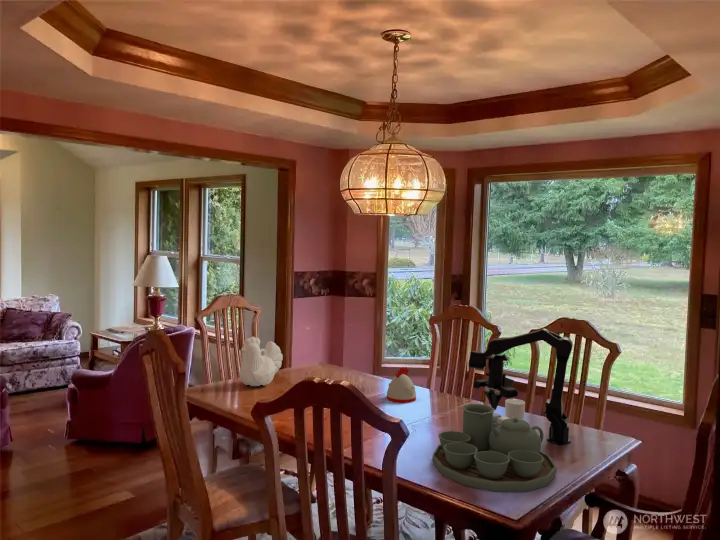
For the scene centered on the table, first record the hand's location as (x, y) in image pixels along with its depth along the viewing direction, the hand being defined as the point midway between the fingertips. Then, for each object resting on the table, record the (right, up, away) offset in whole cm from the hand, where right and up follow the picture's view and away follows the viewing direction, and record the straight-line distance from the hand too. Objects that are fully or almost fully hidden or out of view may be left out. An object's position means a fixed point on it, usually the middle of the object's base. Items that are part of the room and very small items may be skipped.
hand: (494, 409), depth 235 cm
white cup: (+10, -9, +10) cm, 17 cm away
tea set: (-8, -12, -36) cm, 38 cm away
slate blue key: (0, -5, 0) cm, 5 cm away
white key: (+3, -5, -4) cm, 8 cm away
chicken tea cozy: (-34, -6, +45) cm, 57 cm away
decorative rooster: (-102, -3, +65) cm, 121 cm away
